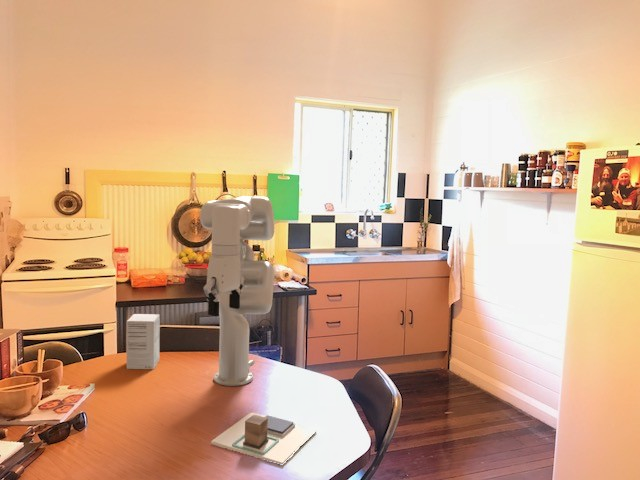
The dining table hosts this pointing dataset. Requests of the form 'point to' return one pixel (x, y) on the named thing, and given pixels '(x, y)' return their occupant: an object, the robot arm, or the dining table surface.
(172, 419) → the dining table surface
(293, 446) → the board
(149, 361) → the supplement box
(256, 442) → the stamp
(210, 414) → the dining table surface
